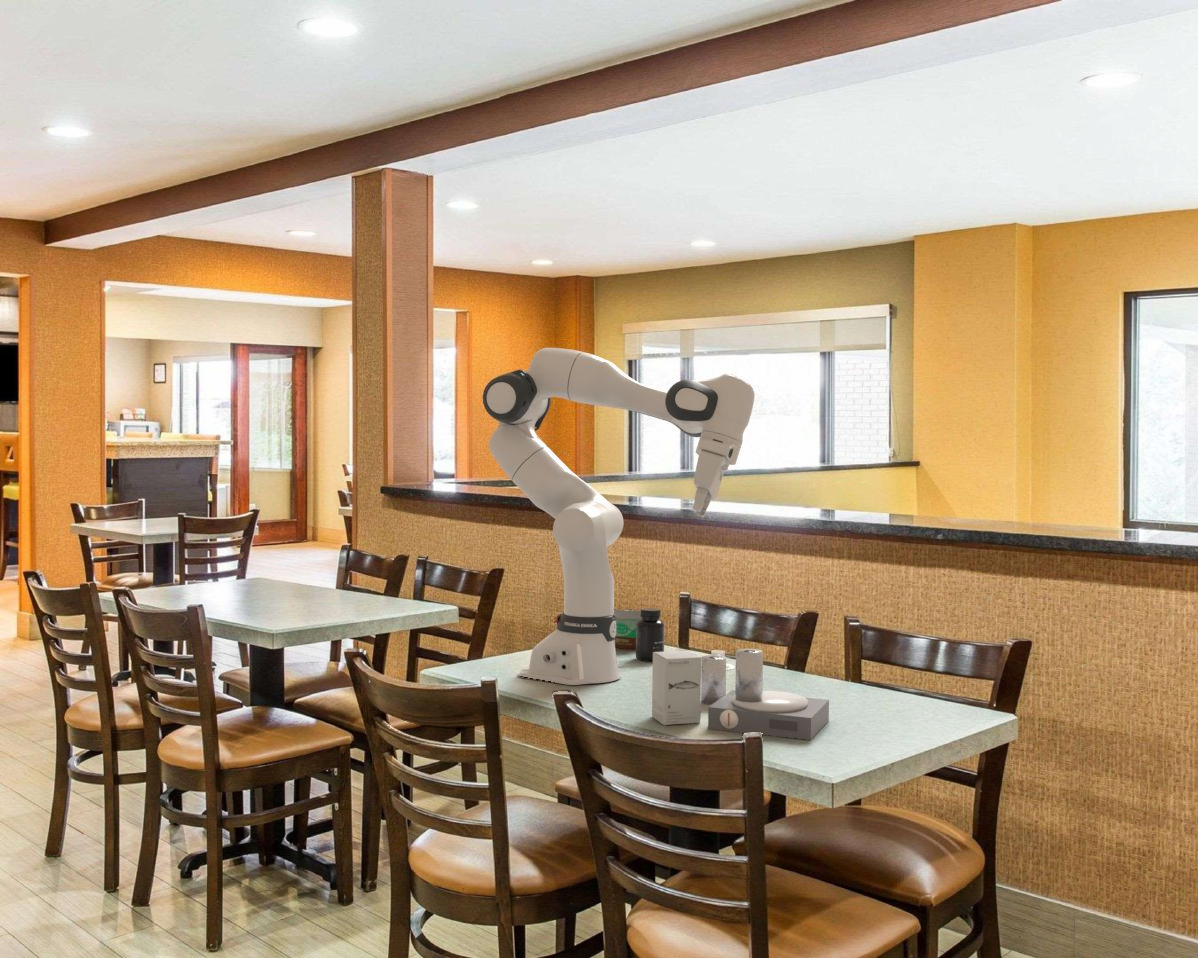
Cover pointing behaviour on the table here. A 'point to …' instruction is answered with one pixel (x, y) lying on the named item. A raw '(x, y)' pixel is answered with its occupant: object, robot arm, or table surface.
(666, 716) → the supplement box
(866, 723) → the table surface
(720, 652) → the teacup and saucer
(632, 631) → the food container
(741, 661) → the cylinder
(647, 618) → the supplement bottle
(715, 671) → the cylinder
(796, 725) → the dial scale
